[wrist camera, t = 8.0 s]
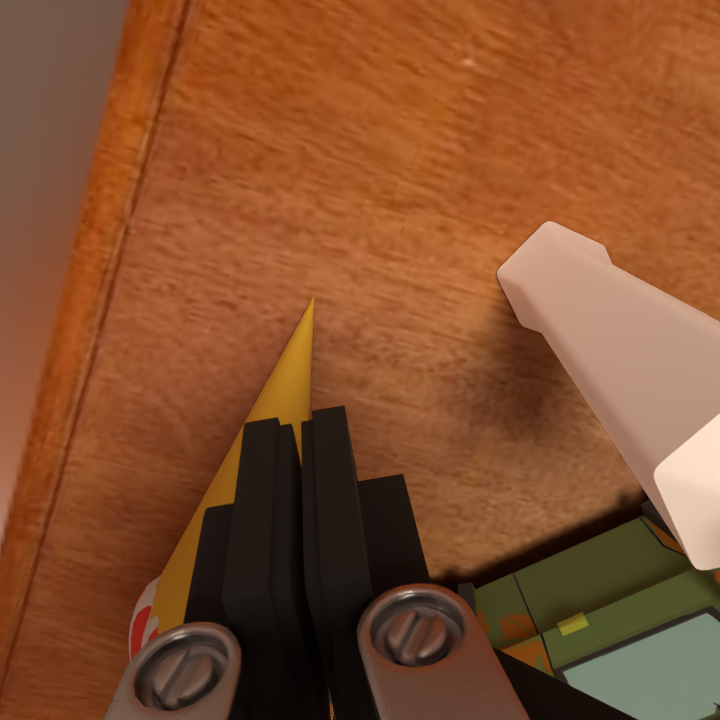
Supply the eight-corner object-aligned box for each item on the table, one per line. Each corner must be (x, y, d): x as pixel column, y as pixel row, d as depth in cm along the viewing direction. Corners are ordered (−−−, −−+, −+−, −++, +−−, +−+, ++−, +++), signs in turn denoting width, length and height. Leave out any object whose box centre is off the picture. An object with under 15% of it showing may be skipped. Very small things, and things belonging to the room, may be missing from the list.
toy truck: (826, 583, 32) (1038, 799, 23) (411, 755, 34) (452, 1011, 25) (777, 392, 27) (1019, 569, 18) (299, 609, 30) (301, 859, 21)
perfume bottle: (499, 205, 23) (800, 444, 9) (623, 217, 23) (1077, 460, 10) (474, 332, 25) (694, 686, 11) (589, 340, 25) (933, 687, 12)
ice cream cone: (328, 289, 28) (209, 713, 31) (192, 258, 24) (69, 758, 27) (439, 330, 24) (289, 818, 27) (298, 303, 19) (137, 892, 22)
